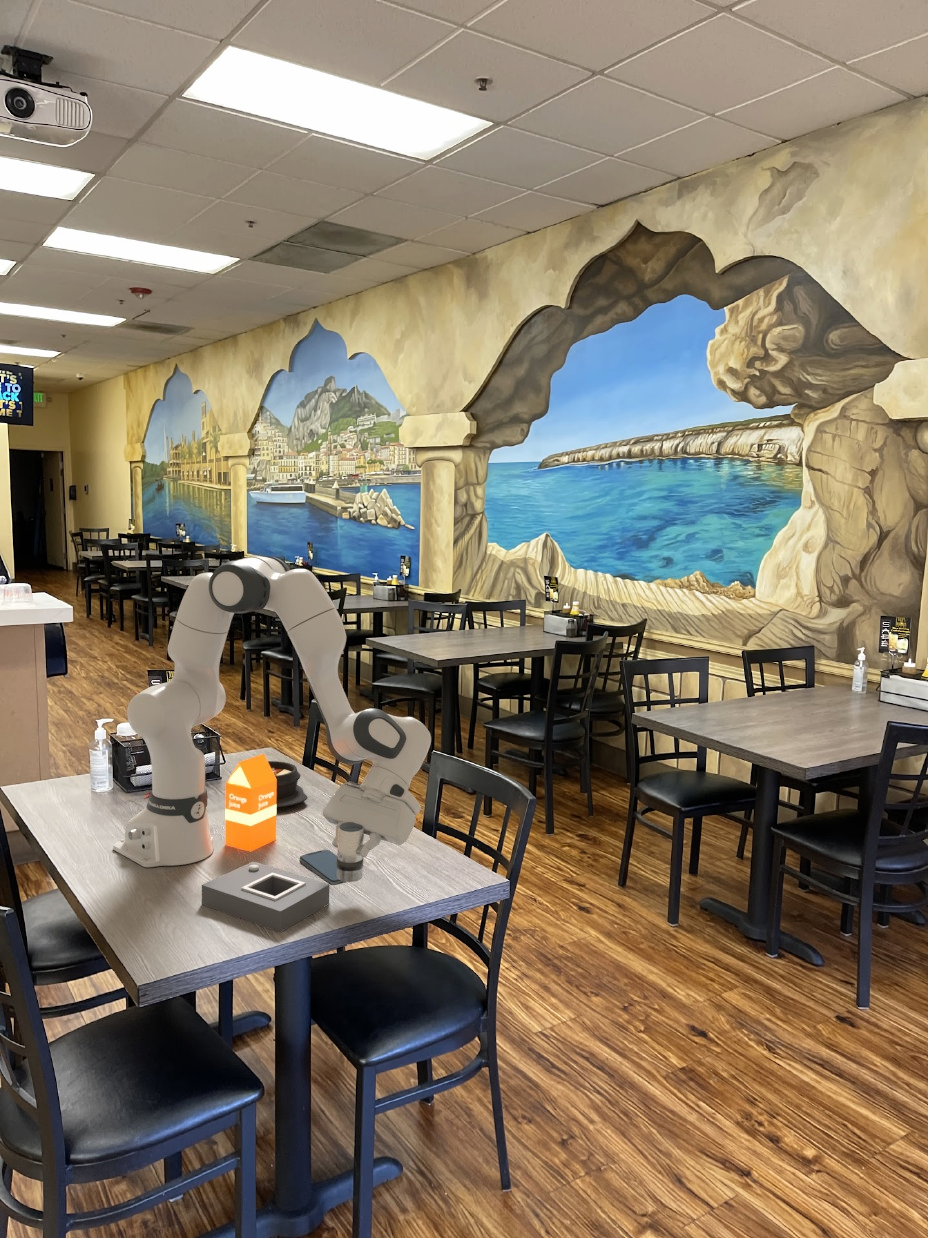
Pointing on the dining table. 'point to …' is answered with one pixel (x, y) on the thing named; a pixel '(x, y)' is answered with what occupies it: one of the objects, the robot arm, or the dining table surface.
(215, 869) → the dining table surface
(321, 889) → the grey socket base
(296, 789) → the casserole
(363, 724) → the robot arm
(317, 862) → the smartphone
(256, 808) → the orange juice
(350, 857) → the lens
